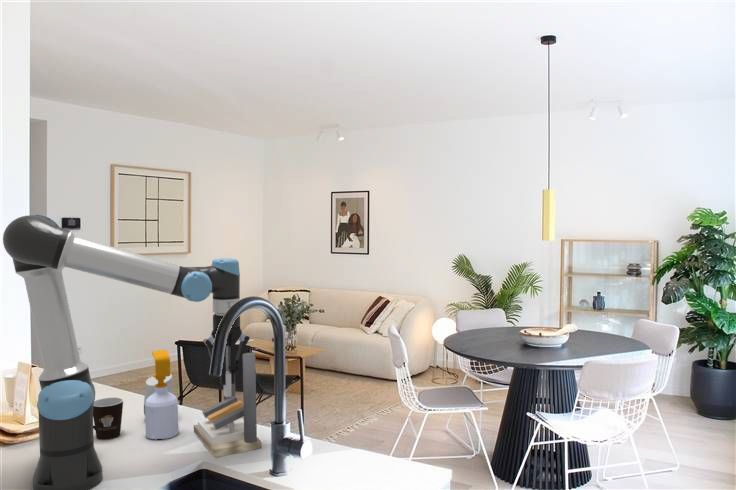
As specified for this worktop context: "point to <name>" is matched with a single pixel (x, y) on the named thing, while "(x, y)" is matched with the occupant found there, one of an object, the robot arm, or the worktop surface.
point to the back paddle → (219, 406)
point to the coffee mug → (107, 417)
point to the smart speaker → (151, 387)
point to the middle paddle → (225, 411)
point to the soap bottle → (161, 402)
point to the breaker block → (222, 431)
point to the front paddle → (228, 418)
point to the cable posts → (247, 395)
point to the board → (226, 445)
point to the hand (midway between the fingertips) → (227, 395)
